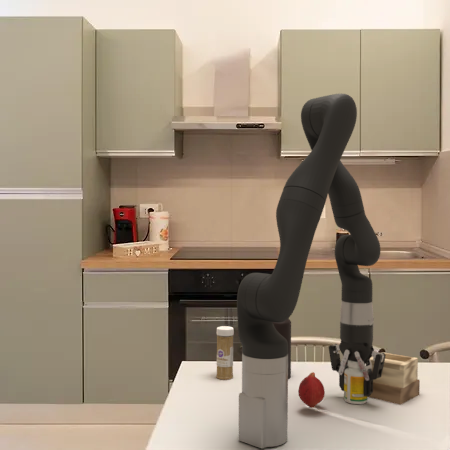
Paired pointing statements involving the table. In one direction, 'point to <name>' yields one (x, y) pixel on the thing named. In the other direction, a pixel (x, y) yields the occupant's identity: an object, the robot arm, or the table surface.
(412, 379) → the tower top
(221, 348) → the sprinkles bottle
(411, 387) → the tower base
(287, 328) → the vinegar
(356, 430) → the table surface
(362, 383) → the supplement bottle
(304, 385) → the onion
